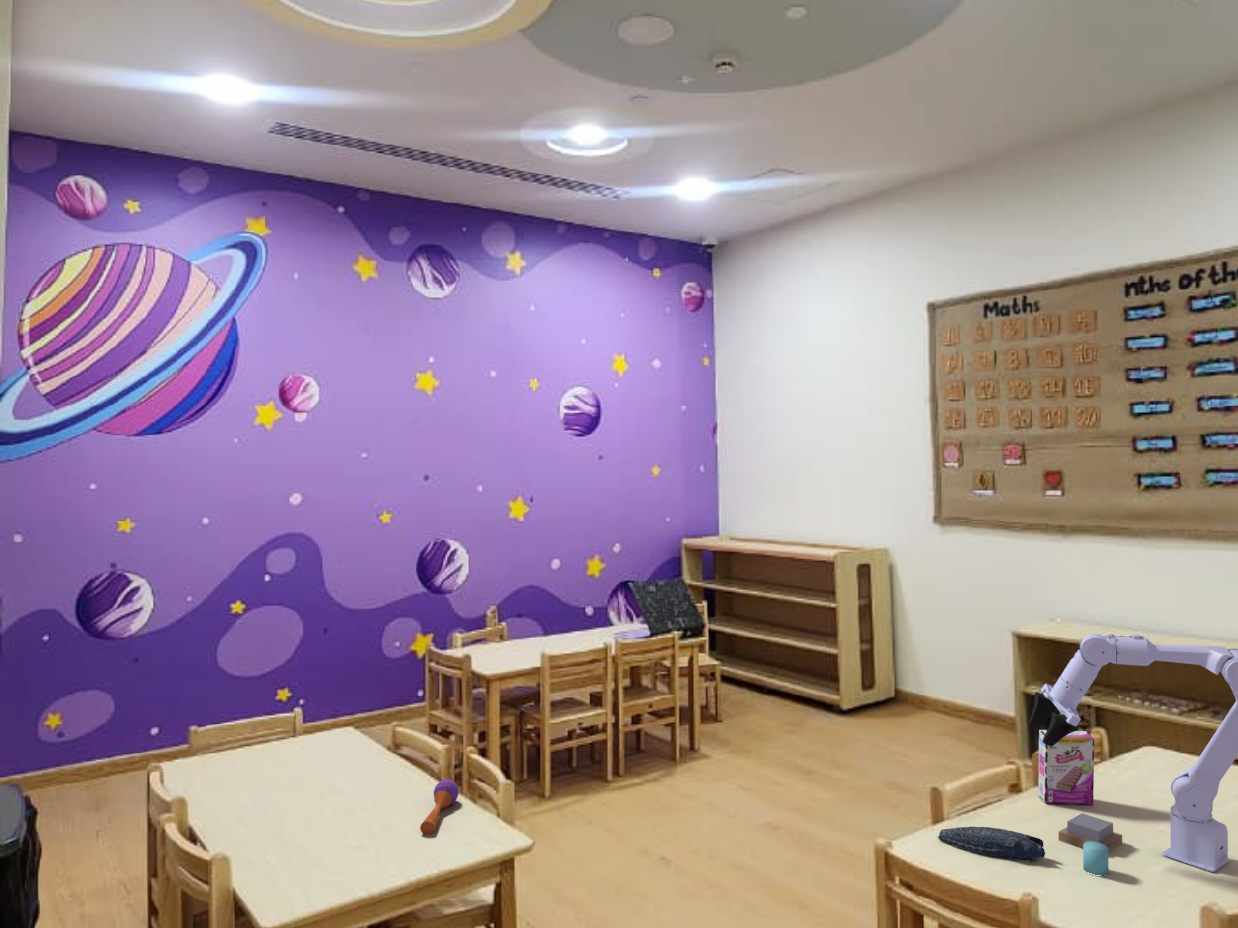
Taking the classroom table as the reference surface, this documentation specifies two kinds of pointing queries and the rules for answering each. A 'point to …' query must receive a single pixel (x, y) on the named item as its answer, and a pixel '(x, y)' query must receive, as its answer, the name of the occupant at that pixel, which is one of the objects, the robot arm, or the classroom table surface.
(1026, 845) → the fish model
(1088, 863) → the teal cylinder
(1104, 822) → the purplish gray square slab
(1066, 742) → the candy bar box
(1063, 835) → the walnut base slab
